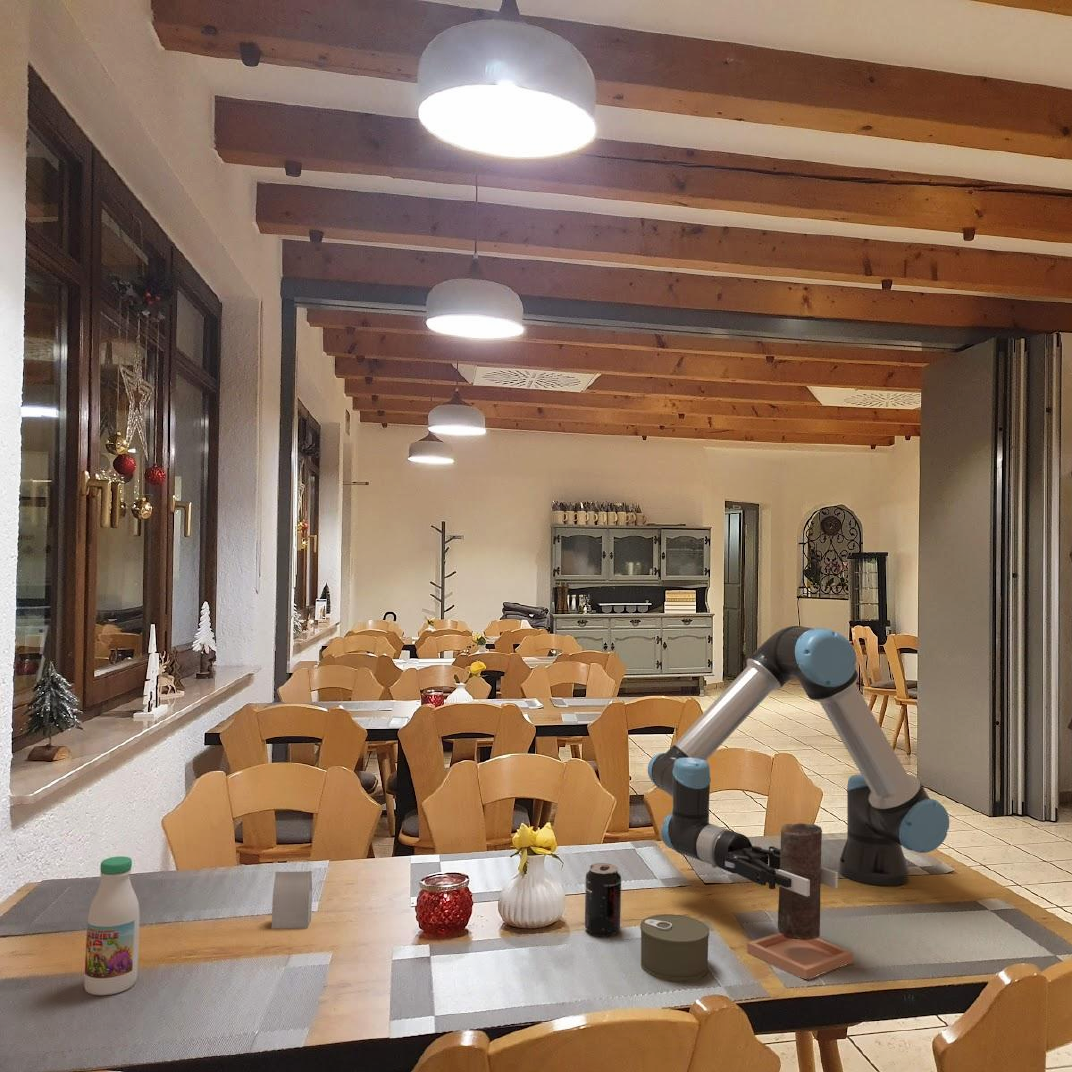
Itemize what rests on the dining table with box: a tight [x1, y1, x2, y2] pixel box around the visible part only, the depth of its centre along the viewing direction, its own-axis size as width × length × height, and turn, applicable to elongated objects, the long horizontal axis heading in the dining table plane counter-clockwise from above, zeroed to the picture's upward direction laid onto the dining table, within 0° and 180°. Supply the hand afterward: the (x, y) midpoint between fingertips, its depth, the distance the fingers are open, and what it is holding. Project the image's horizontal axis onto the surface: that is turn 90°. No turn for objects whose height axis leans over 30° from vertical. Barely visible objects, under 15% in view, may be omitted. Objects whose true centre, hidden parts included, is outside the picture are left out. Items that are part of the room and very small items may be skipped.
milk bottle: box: [83, 855, 140, 996], centre depth 142 cm, size 8×8×20 cm
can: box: [639, 913, 710, 983], centre depth 153 cm, size 12×12×7 cm
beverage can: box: [584, 862, 622, 937], centre depth 168 cm, size 7×7×12 cm
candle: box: [777, 822, 823, 940], centre depth 158 cm, size 8×7×20 cm
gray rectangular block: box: [271, 870, 313, 930], centre depth 168 cm, size 4×7×10 cm, turn 95°
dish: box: [746, 931, 854, 980], centre depth 158 cm, size 13×13×2 cm
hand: (822, 884), depth 154 cm, fingers closed on candle, 7 cm apart
